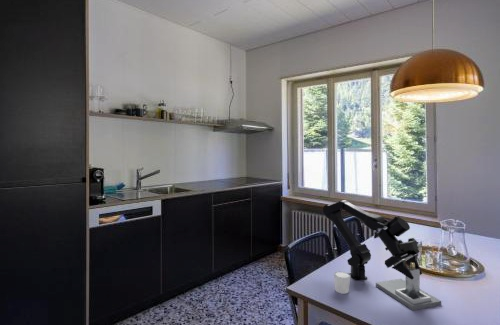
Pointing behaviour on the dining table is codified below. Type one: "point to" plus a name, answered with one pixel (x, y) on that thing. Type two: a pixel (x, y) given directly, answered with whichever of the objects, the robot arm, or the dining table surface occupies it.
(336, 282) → the shot glass
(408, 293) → the gold-capped silver bottle
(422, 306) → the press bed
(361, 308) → the dining table surface
